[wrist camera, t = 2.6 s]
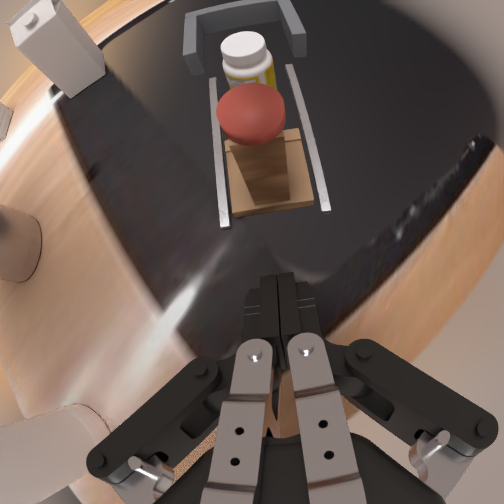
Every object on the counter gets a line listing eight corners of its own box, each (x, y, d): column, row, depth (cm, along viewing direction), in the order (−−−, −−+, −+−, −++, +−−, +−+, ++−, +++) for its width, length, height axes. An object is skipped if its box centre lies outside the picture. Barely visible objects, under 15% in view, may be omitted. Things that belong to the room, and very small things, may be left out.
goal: (193, 76, 31) (182, 55, 27) (193, 32, 33) (185, 13, 29) (306, 56, 29) (306, 33, 25) (288, 14, 31) (286, -6, 27)
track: (222, 229, 27) (220, 227, 26) (210, 82, 30) (209, 78, 30) (330, 212, 25) (330, 210, 25) (292, 68, 29) (292, 63, 28)
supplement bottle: (263, 77, 29) (252, 23, 21) (286, 100, 28) (280, 44, 20) (227, 95, 30) (207, 43, 21) (248, 120, 28) (232, 66, 20)
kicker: (235, 217, 26) (186, 147, 14) (228, 149, 28) (186, 60, 15) (313, 205, 26) (323, 123, 13) (298, 138, 27) (294, 39, 15)
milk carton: (71, 77, 36) (11, 15, 18) (104, 54, 36) (48, -16, 17) (71, 99, 35) (0, 32, 16) (106, 74, 34) (41, -4, 16)
